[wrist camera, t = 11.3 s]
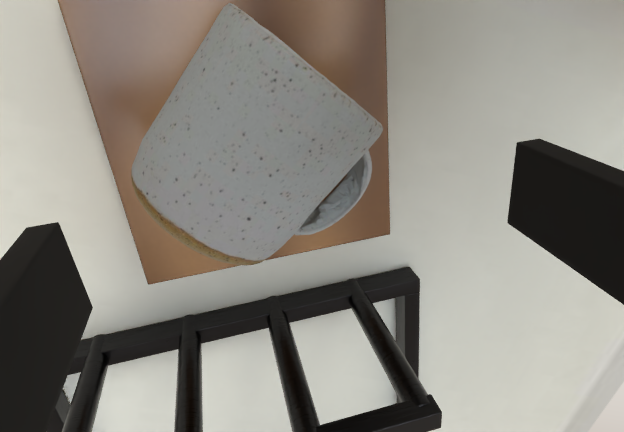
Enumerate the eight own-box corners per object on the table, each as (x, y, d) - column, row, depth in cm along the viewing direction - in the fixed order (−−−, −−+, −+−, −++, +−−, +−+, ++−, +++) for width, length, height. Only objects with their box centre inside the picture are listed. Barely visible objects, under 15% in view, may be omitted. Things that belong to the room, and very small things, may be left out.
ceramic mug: (128, 153, 20) (98, 225, 14) (222, -2, 19) (241, -6, 12) (304, 249, 25) (346, 338, 18) (392, 132, 23) (475, 183, 17)
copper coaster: (379, -34, 20) (385, -36, 20) (386, 229, 26) (390, 234, 26) (60, -3, 18) (56, -4, 17) (149, 279, 24) (148, 285, 24)
